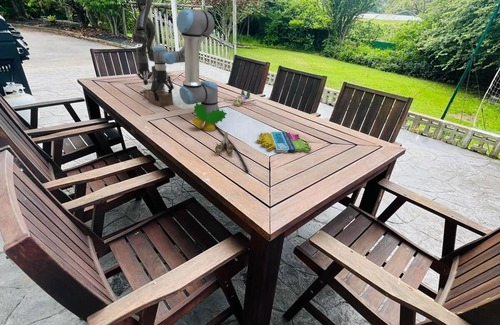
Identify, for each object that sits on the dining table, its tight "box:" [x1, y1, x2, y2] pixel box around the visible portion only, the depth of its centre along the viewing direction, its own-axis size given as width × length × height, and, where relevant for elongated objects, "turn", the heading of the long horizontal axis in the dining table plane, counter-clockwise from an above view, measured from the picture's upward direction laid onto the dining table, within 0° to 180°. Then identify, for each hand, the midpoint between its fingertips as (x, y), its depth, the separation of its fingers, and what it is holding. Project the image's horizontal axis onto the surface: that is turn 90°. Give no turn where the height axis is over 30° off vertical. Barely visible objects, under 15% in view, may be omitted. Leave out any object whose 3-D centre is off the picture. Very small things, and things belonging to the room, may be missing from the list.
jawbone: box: [214, 131, 234, 156], centre depth 136 cm, size 9×15×10 cm
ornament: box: [191, 102, 228, 132], centre depth 162 cm, size 21×8×15 cm, turn 105°
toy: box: [223, 89, 257, 106], centre depth 219 cm, size 28×7×30 cm
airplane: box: [148, 71, 175, 83], centre depth 272 cm, size 38×32×10 cm
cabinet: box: [148, 89, 174, 108], centre depth 202 cm, size 16×10×8 cm, turn 50°
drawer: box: [139, 88, 151, 100], centre depth 208 cm, size 20×9×6 cm, turn 50°
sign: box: [256, 131, 312, 154], centre depth 152 cm, size 26×2×30 cm
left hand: (145, 84), depth 209 cm, fingers closed
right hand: (163, 99), depth 200 cm, fingers open, 11 cm apart
